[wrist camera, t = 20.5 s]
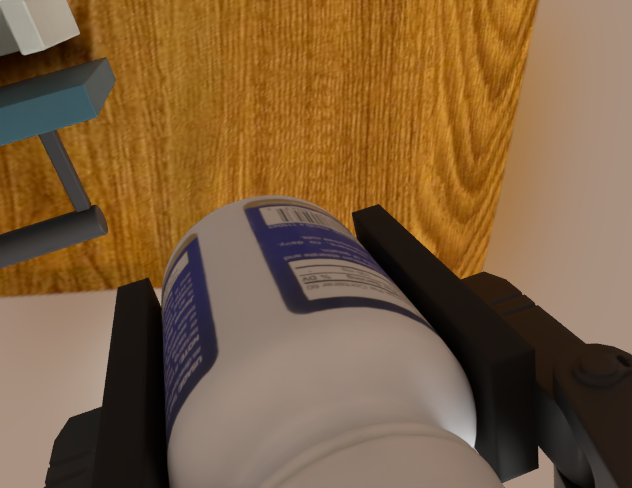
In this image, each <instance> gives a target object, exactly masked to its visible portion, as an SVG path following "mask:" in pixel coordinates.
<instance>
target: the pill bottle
mask: <svg viewBox="0 0 632 488" xmlns="http://www.w3.org/2000/svg"><path fill="white" fill-rule="evenodd" d="M161 309H162V311H161V315H162V335H163V367H164V396H165V423H166V454H167V467H168V475H169V487H170V488H505V487H504V486H503V484H502V483H501V481H500V480H499V478H498V476H497V475H496V473H495V472H494V470H493V469H492V468H491V466H490V465H489V464H488V463H487V462H486V461H485V460H484V459H483V458H482V457H481V456H480V455H479V454H478V453H477V452H476V451H475V450H474V445H475V439H476V424H477V419H476V406H475V400H474V396H473V392H472V389H471V386H470V383H469V381H468V378H467V376H466V374H465V372H464V370H463V368H462V366H461V365H460V363H459V361H458V360H457V359H456V357H455V356H454V355H453V353H452V352H451V351H450V349H449V348H448V347H447V345H446V344H445V343H444V341H443V340H442V339H441V337H440V336H439V335H438V333H437V332H436V331H435V330H434V329H433V327H432V326H431V325H430V324H429V323H428V322H427V320H426V319H425V318H424V317H423V316H422V315H421V314H420V313H419V311H418V310H417V309H416V308H415V306H414V305H413V304H412V303H411V302H410V301H409V300H408V298H407V297H406V296H405V295H404V294H403V293H402V291H401V290H400V289H399V288H398V287H397V285H396V284H395V283H394V282H393V281H392V280H391V278H390V277H389V276H388V275H387V274H386V273H385V271H384V270H383V269H382V268H381V267H380V266H379V265H378V263H377V262H376V261H375V260H374V259H373V258H372V256H371V255H370V254H369V253H368V252H367V251H366V250H365V248H364V247H363V246H362V245H361V244H360V243H359V241H358V240H357V239H356V238H355V237H354V236H353V234H352V233H351V232H350V231H349V230H348V229H347V228H346V227H345V226H344V225H343V224H342V223H341V222H340V221H339V220H338V219H337V218H336V217H335V216H333V215H332V214H331V213H329V212H328V211H326V210H325V209H323V208H321V207H319V206H317V205H315V204H313V203H311V202H308V201H305V200H302V199H299V198H294V197H289V196H280V195H266V196H256V197H251V198H246V199H242V200H239V201H236V202H233V203H230V204H228V205H225V206H223V207H221V208H218V209H216V210H215V211H213V212H211V213H210V214H208V215H207V216H205V217H204V218H203V219H201V220H200V221H199V222H198V223H196V224H195V225H194V226H193V227H192V228H191V229H190V230H189V231H188V232H187V233H186V234H185V236H184V237H183V238H182V239H181V241H180V242H179V244H178V245H177V247H176V248H175V250H174V252H173V254H172V256H171V258H170V260H169V262H168V265H167V267H166V270H165V274H164V278H163V284H162V305H161Z"/></svg>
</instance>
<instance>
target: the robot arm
mask: <svg viewBox="0 0 632 488" xmlns="http://www.w3.org/2000/svg"><path fill="white" fill-rule="evenodd" d="M352 217H353V222H354V226H355V231H356V236H357V240H358V241H359V243H360V244H361V245H362V246H363V247H364V248H365V250H366V251H367V252H368V253H369V254H370V255H371V256H372V258H373V259H374V260H375V261H376V262H377V263H378V265H379V266H380V267H381V268H382V269H383V270H384V271H385V273H386V274H387V275H388V276H389V277H390V278H391V280H392V281H393V282H394V283H395V284H396V285H397V287H398V288H399V289H400V290H401V291H402V293H403V294H404V295H405V296H406V297H407V298H408V300H409V301H410V302H411V303H412V304H413V305H414V306H415V308H416V309H417V310H418V311H419V313H420V314H421V315H422V316H423V317H424V318H425V319H426V320H427V322H428V323H429V324H430V325H431V326H432V327H433V329H434V330H435V331H436V332H437V333H438V335H439V336H440V337H441V339H442V340H443V341H444V343H445V344H446V345H447V347H448V348H449V349H450V351H451V352H452V353H453V355H454V356H455V357H456V359H457V360H458V361H459V363H460V365H461V366H462V368H463V370H464V372H465V374H466V376H467V378H468V381H469V383H470V386H471V389H472V392H473V396H474V400H475V406H476V419H477V424H476V439H475V445H474V447H475V449H476V450H477V452H478V453H479V455H480V456H481V457H482V458H483V459H484V460H485V461H486V462H487V463H488V464H489V465H490V466H491V468H492V469H493V470H494V472H495V473H496V475H497V476H498V478H499V480H500V481H501V483H504V482H506V481H508V480H511V479H513V478H516V477H518V476H521V475H523V474H525V473H528V472H530V471H533V470H535V469H538V468H539V464H538V446H539V447H540V448H541V449H542V450H543V452H544V453H545V454H546V455H547V456H548V458H549V459H550V460H551V461H552V462H553V463H554V488H632V355H631V354H629V353H627V352H625V351H623V350H620V349H618V348H616V347H613V346H607V345H602V344H585V343H584V342H583V341H582V340H580V339H579V338H578V337H577V336H575V335H574V334H573V333H572V332H571V331H569V330H568V329H567V328H566V327H564V326H563V325H562V324H561V323H559V322H558V321H557V320H556V319H554V318H553V317H552V316H551V315H549V314H548V313H547V312H545V311H544V310H543V309H542V308H541V307H539V306H538V305H537V306H536V305H535V303H534V302H533V301H532V300H531V299H529V298H528V297H527V296H526V295H522V292H521V291H519V290H518V289H517V288H516V287H515V286H513V285H512V284H511V283H510V282H508V281H507V280H506V279H503V278H500V277H497V276H495V275H492V274H489V273H487V272H481V273H478V274H475V275H472V276H469V277H467V278H464V279H461V280H460V279H459V278H458V277H457V276H456V275H455V274H454V273H453V272H452V271H450V270H449V269H448V268H447V267H446V266H445V265H444V264H443V263H442V262H441V261H440V260H439V259H438V258H436V257H435V256H434V255H433V254H432V253H431V252H430V251H429V250H428V249H427V248H426V247H425V246H423V245H422V244H421V243H420V242H419V241H418V240H417V239H416V238H415V237H414V236H413V235H412V234H411V233H409V232H408V231H407V230H406V229H405V228H404V227H403V226H402V225H401V224H400V223H399V222H398V221H396V220H395V219H394V218H393V217H392V216H391V215H390V214H389V213H388V212H387V211H386V210H385V209H383V208H382V207H381V206H380V205H379V204H378V205H375V206H371V207H368V208H365V209H362V210H359V211H356V212H353V213H352ZM161 311H162V309H161V306H160V303H159V301H158V299H157V296H156V294H155V292H154V289H153V287H152V285H151V282H150V280H149V278H146V279H143V280H140V281H136V282H133V283H130V284H127V285H124V286H121V287H118V290H117V297H116V305H115V312H114V320H113V328H112V336H111V343H110V350H109V357H108V365H107V372H106V380H105V388H104V395H103V403H102V407H99V408H96V409H93V410H91V411H88V412H85V413H82V414H79V415H76V416H74V417H71V418H69V420H68V421H67V423H66V424H65V426H64V427H63V429H62V430H61V432H60V433H59V435H58V436H57V438H56V439H55V441H54V445H53V449H52V454H51V458H50V462H49V464H50V468H48V471H47V475H46V480H45V484H46V487H44V488H170V487H169V475H168V467H167V454H166V423H165V396H164V367H163V335H162V315H161Z"/></svg>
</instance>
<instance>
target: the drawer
mask: <svg viewBox="0 0 632 488" xmlns="http://www.w3.org/2000/svg"><path fill="white" fill-rule="evenodd" d="M79 34H80V32H79V29H78V27H77V24H76V22H75V20H74V17H73V15H72V13H71V10H70V8H69V5H68V3H67V1H66V0H0V56H4V55H7V54H11V53H15V52H18V51H20V52H21V54H22V55H28V54H31V53H35V52H39V51H42V50H45V49H47V48H50V47H52V46H54V45H57V44H59V43H61V42H63V41H66V40H68V39H70V38H72V37H75V36H77V35H79ZM115 81H116V79H115V77H114V74H113V72H112V69H111V67H110V65H109V62H108V60H107V58H106V57H105V58H101V59H98V60H94V61H90V62H87V63H83V64H80V65H76V66H73V67H69V68H65V69H62V70H58V71H55V72H51V73H48V74H44V75H40V76H37V77H33V78H30V79H26V80H23V81H19V82H15V83H12V84H8V85H5V86H1V87H0V146H2V145H5V144H9V143H12V142H15V141H19V140H22V139H26V138H29V137H32V136H36V135H39V137H40V139H41V141H42V143H43V145H44V147H45V149H46V151H47V153H48V155H49V157H50V160H51V162H52V164H53V166H54V168H55V170H56V172H57V174H58V176H59V178H60V180H61V182H62V184H63V186H64V188H65V190H66V192H67V194H68V196H69V198H70V200H71V202H72V204H73V206H74V208H75V210H76V211H73V212H70V213H67V214H64V215H61V216H58V217H54V218H51V219H48V220H45V221H42V222H39V223H35V224H32V225H29V226H26V227H23V228H20V229H16V230H13V231H10V232H7V233H4V234H1V235H0V269H1V268H4V267H7V266H10V265H13V264H16V263H19V262H22V261H25V260H28V259H32V258H35V257H38V256H41V255H44V254H47V253H50V252H53V251H56V250H59V249H62V248H65V247H69V246H72V245H75V244H78V243H81V242H84V241H87V240H90V239H93V238H96V237H99V236H102V235H105V234H107V233H108V227H107V223H106V220H105V217H104V215H103V213H102V211H101V209H100V208H99V207H98V206H97V205H92V206H91V202H90V200H89V198H88V196H87V194H86V192H85V190H84V188H83V186H82V184H81V181H80V179H79V177H78V175H77V173H76V171H75V169H74V167H73V165H72V162H71V160H70V158H69V156H68V154H67V152H66V150H65V148H64V146H63V144H62V141H61V139H60V137H59V135H58V133H57V131H56V129H60V128H63V127H66V126H70V125H73V124H77V123H80V122H83V121H87V120H90V119H93V118H97V117H98V115H99V113H100V111H101V109H102V107H103V105H104V103H105V101H106V99H107V97H108V95H109V93H110V91H111V89H112V87H113V85H114V83H115Z"/></svg>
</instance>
